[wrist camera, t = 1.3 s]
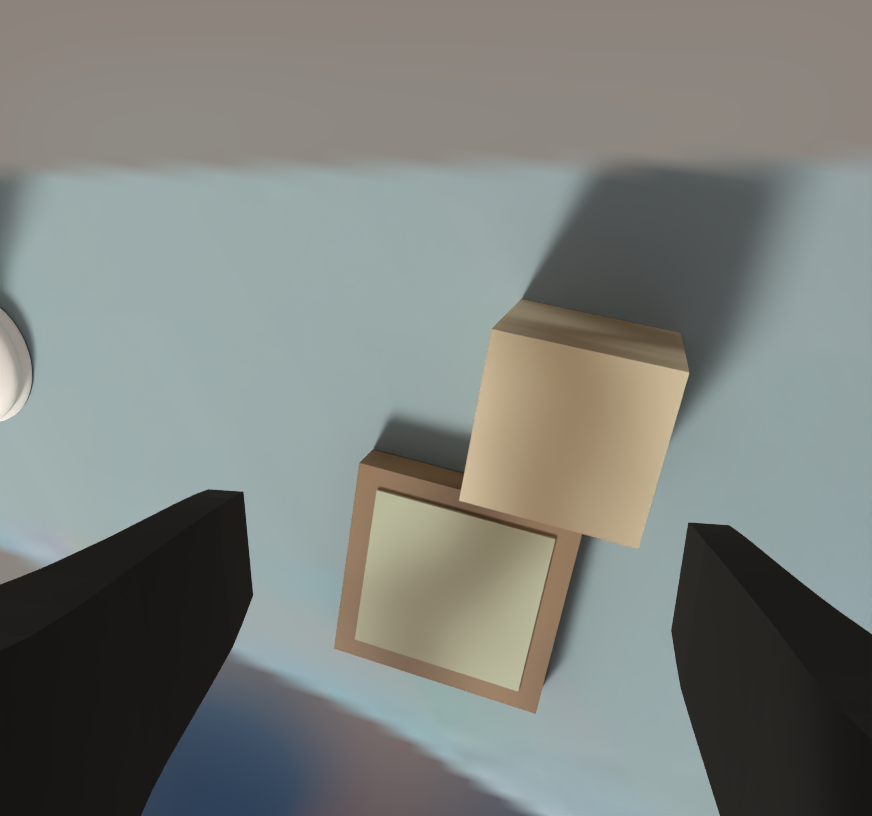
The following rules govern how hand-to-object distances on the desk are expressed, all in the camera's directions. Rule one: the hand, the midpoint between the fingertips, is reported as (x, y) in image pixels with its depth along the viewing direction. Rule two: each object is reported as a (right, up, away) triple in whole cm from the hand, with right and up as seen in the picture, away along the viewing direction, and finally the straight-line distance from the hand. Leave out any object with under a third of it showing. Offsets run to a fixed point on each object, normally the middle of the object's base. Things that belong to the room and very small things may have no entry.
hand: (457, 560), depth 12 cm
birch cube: (+4, +3, +10) cm, 11 cm away
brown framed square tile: (0, -3, +12) cm, 13 cm away
